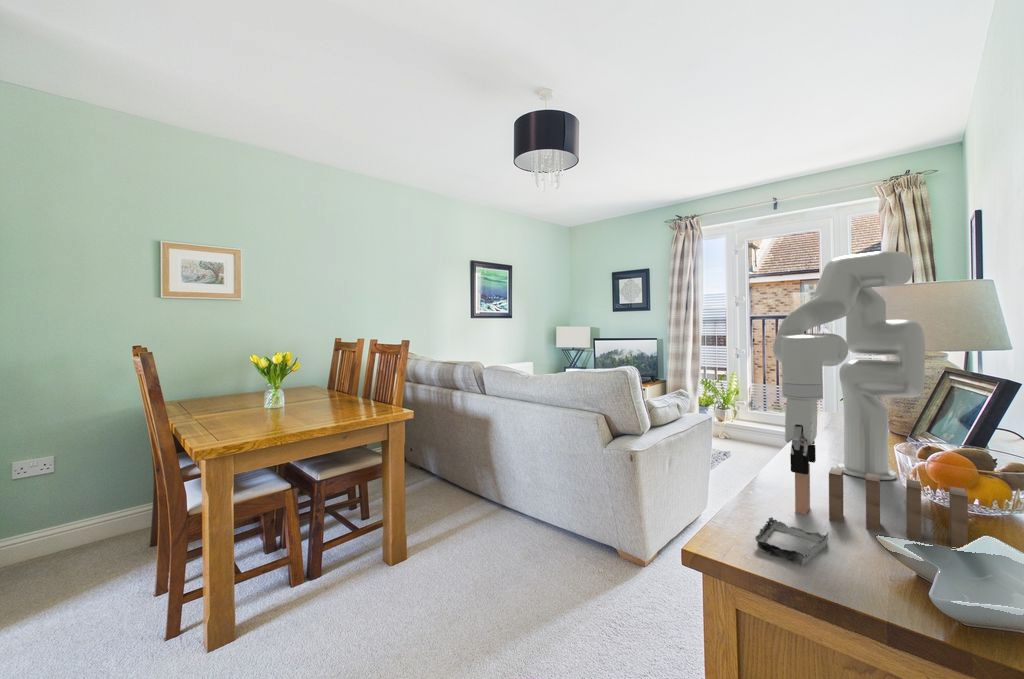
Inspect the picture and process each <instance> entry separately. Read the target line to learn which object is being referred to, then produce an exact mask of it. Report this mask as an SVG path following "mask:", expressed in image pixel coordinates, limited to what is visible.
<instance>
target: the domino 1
mask: <svg viewBox="0 0 1024 679" xmlns="http://www.w3.org/2000/svg"><path fill="white" fill-rule="evenodd" d="M810 477H811V464H810V463H809V473H808V474H807V475H806V474H800V473H795V472H794V510H795V511H794V512H795V513H796V514H797V513H798V514H802V515H808V512H809V510H810V508H811V478H810Z"/></svg>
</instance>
